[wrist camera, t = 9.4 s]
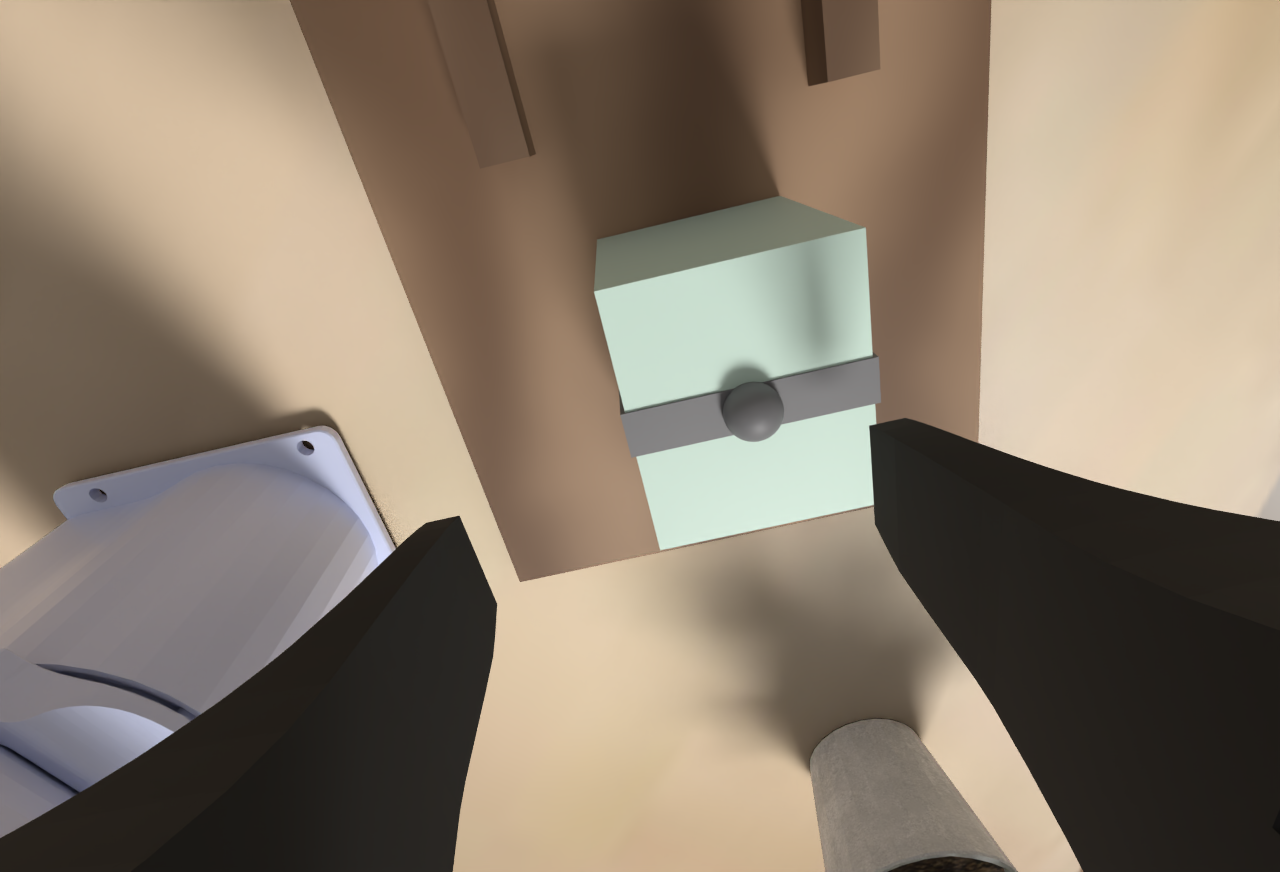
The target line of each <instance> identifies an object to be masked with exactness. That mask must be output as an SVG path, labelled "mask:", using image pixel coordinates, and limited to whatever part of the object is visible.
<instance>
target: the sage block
mask: <svg viewBox="0 0 1280 872" xmlns="http://www.w3.org/2000/svg"><path fill="white" fill-rule="evenodd" d="M594 294H595V298H596V302H597V305H598V309H599V313H600V317H601V321H602V325H603V329H604V333H605V337H606V341H607V344H608V348H609V352H610V356H611V360H612V364H613V368H614V372H615V376H616V380H617V383H618V387H619V402H620V416H621V420H622V424H623V427H624V431H625V435H626V439H627V443H628V447H629V450H630V454H631V458H633V457H636V458H637V461H638V465H639V469H640V473H641V477H642V481H643V485H644V489H645V493H646V497H647V500H648V504H649V508H650V512H651V516H652V520H653V524H654V528H655V532H656V536H657V539H658V543H659V547H660V550H664V549H669V548H674V547H678V546H683V545H688V544H693V543H697V542H702V541H707V540H711V539H716V538H721V537H725V536H730V535H735V534H740V533H744V532H749V531H754V530H758V529H763V528H768V527H772V526H777V525H782V524H787V523H791V522H796V521H801V520H805V519H810V518H815V517H819V516H824V515H829V514H834V513H838V512H843V511H848V510H852V509H857V508H862V507H866V506H871V505H874V498H873V481H872V464H871V447H870V431H869V426H870V425H874V424H876V409H875V404H877V403H881V391H880V371H879V357H878V356H877V355H876V354H875V353H873V352H872V334H871V315H870V297H869V278H868V259H867V241H866V227H863V226H860V225H858V224H855V223H852V222H849V221H847V220H844V219H841V218H839V217H836V216H833V215H831V214H828V213H825V212H823V211H820V210H817V209H815V208H812V207H809V206H806V205H804V204H801V203H798V202H796V201H793V200H790V199H788V198H785V197H782V196H777V197H772V198H768V199H764V200H760V201H756V202H752V203H747V204H743V205H739V206H735V207H731V208H727V209H722V210H718V211H714V212H710V213H706V214H702V215H697V216H693V217H689V218H685V219H681V220H677V221H672V222H668V223H664V224H660V225H656V226H652V227H647V228H643V229H639V230H635V231H631V232H627V233H622V234H618V235H614V236H610V237H606V238H602V239H597V250H596V266H595V283H594Z"/></svg>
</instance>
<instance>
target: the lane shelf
mask: <svg viewBox="0 0 1280 872" xmlns="http://www.w3.org/2000/svg"><path fill="white" fill-rule="evenodd" d="M290 2H291V5H292V7H293V10H294V12H295V15H296V17H297V20H298V22H299V25H300V27H301V30H302V32H303V35H304V37H305V40H306V42H307V45H308V47H309V50H310V53H311V55H312V58H313V60H314V63H315V65H316V68H317V70H318V73H319V75H320V78H321V80H322V83H323V85H324V88H325V90H326V93H327V95H328V98H329V101H330V103H331V106H332V108H333V111H334V113H335V116H336V118H337V121H338V123H339V126H340V128H341V131H342V133H343V136H344V138H345V141H346V143H347V146H348V149H349V151H350V154H351V156H352V159H353V161H354V164H355V166H356V169H357V171H358V174H359V176H360V179H361V181H362V184H363V186H364V189H365V191H366V194H367V197H368V199H369V202H370V204H371V207H372V209H373V212H374V214H375V217H376V219H377V222H378V224H379V227H380V229H381V232H382V234H383V237H384V239H385V242H386V245H387V247H388V250H389V252H390V255H391V257H392V260H393V262H394V265H395V267H396V270H397V272H398V275H399V277H400V280H401V282H402V285H403V287H404V290H405V293H406V295H407V298H408V300H409V303H410V305H411V308H412V310H413V313H414V315H415V318H416V320H417V323H418V325H419V328H420V330H421V333H422V335H423V338H424V341H425V343H426V346H427V348H428V351H429V353H430V356H431V358H432V361H433V363H434V366H435V368H436V371H437V373H438V376H439V378H440V381H441V383H442V386H443V389H444V391H445V394H446V396H447V399H448V401H449V404H450V406H451V409H452V411H453V414H454V416H455V419H456V421H457V424H458V426H459V429H460V431H461V434H462V437H463V439H464V442H465V444H466V447H467V449H468V452H469V454H470V457H471V459H472V462H473V464H474V467H475V469H476V472H477V474H478V477H479V479H480V482H481V485H482V487H483V490H484V492H485V495H486V497H487V500H488V502H489V505H490V507H491V510H492V512H493V515H494V517H495V520H496V522H497V525H498V528H499V530H500V533H501V535H502V538H503V540H504V543H505V545H506V548H507V550H508V553H509V555H510V558H511V560H512V563H513V565H514V568H515V570H516V573H517V576H518V578H519V581H520V582H522V581H527V580H532V579H537V578H541V577H546V576H551V575H555V574H560V573H565V572H569V571H574V570H579V569H583V568H588V567H593V566H598V565H602V564H607V563H612V562H616V561H621V560H626V559H630V558H635V557H640V556H645V555H649V554H654V553H659V552H663V551H668V550H673V549H677V548H682V547H687V546H691V545H696V544H701V543H706V542H710V541H715V540H720V539H724V538H729V537H734V536H738V535H743V534H748V533H753V532H757V531H762V530H767V529H771V528H776V527H781V526H785V525H790V524H795V523H800V522H804V521H809V520H814V519H818V518H823V517H828V516H832V515H837V514H842V513H846V512H851V511H856V510H861V509H865V508H870V507H874V505H871V506H866V507H862V508H857V509H852V510H848V511H843V512H838V513H834V514H829V515H824V516H819V517H815V518H810V519H805V520H801V521H796V522H791V523H787V524H782V525H777V526H772V527H768V528H763V529H758V530H754V531H749V532H744V533H740V534H735V535H730V536H725V537H721V538H716V539H711V540H707V541H702V542H697V543H693V544H688V545H683V546H678V547H674V548H669V549H664V550H660V547H659V543H658V539H657V536H656V532H655V528H654V524H653V520H652V516H651V512H650V508H649V504H648V500H647V497H646V493H645V489H644V485H643V481H642V477H641V473H640V469H639V465H638V461H637V458H636V457H633V458H631V454H630V450H629V447H628V443H627V439H626V435H625V431H624V427H623V424H622V420H621V416H620V402H619V387H618V383H617V380H616V376H615V372H614V368H613V364H612V360H611V356H610V352H609V348H608V344H607V341H606V337H605V333H604V329H603V325H602V321H601V317H600V313H599V309H598V305H597V302H596V298H595V294H594V283H595V266H596V250H597V239H602V238H606V237H610V236H614V235H618V234H622V233H627V232H631V231H635V230H639V229H643V228H647V227H652V226H656V225H660V224H664V223H668V222H672V221H677V220H681V219H685V218H689V217H693V216H697V215H702V214H706V213H710V212H714V211H718V210H722V209H727V208H731V207H735V206H739V205H743V204H747V203H752V202H756V201H760V200H764V199H768V198H772V197H777V196H782V197H785V198H788V199H790V200H793V201H796V202H798V203H801V204H804V205H806V206H809V207H812V208H815V209H817V210H820V211H823V212H825V213H828V214H831V215H833V216H836V217H839V218H841V219H844V220H847V221H849V222H852V223H855V224H858V225H860V226H863V227H866V241H867V259H868V278H869V297H870V315H871V334H872V352H873V353H875V354H876V355H877V356H878V357H879V371H880V391H881V403H877V404H875V409H876V424H879V423H884V422H888V421H893V420H897V419H902V418H908V419H912V420H916V421H919V422H922V423H925V424H928V425H931V426H934V427H936V428H939V429H942V430H945V431H947V432H950V433H953V434H955V435H958V436H961V437H963V438H966V439H969V440H971V441H974V442H977V443H978V432H979V399H980V365H981V331H982V297H983V263H984V230H985V196H986V162H987V128H988V95H989V61H990V27H991V0H290Z"/></svg>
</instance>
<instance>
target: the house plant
mask: <svg viewBox="0 0 1280 872" xmlns="http://www.w3.org/2000/svg"><path fill="white" fill-rule="evenodd" d="M810 773H811V779H812V786H813V793H814V799H815V806H816V812H817V819H818V826H819V832H820V839H821V846H822V852H823V859H824V866H825V872H1018V871H1017V870H1016V869H1015V867H1014V866H1013V865H1012V863H1011V862H1010V860H1009V859H1008V858H1007V856H1006V855H1005V854H1004V852H1003V851H1002V850H1001V848H1000V847H999V846H998V844H997V843H996V841H995V840H994V839H993V837H992V836H991V835H990V833H989V832H988V831H987V829H986V828H985V827H984V825H983V824H982V822H981V821H980V820H979V818H978V817H977V816H976V814H975V813H974V812H973V810H972V809H971V808H970V806H969V805H968V803H967V802H966V801H965V799H964V798H963V797H962V795H961V794H960V793H959V791H958V790H957V789H956V787H955V786H954V784H953V783H952V782H951V780H950V779H949V778H948V776H947V775H946V774H945V772H944V771H943V770H942V768H941V767H940V765H939V764H938V763H937V761H936V760H935V759H934V757H933V756H932V755H931V753H930V752H929V751H928V749H927V748H926V746H925V745H924V744H923V742H922V741H921V740H920V738H919V737H918V736H917V734H916V733H915V732H914V731H913V729H911V728H910V727H908V726H906V725H905V724H903V723H900V722H897V721H893V720H888V719H869V720H861V721H857V722H854V723H851V724H847V725H845V726H843V727H841V728H839V729H837V730H835V731H833V732H832V733H830V734H829V735H828V736H826V737H825V738H824V739H822V741H821V742H820V743H819V744H818V745H817V747H816V748H815V749H814V751H813V754H812V756H811V758H810Z"/></svg>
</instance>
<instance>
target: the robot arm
mask: <svg viewBox="0 0 1280 872" xmlns="http://www.w3.org/2000/svg"><path fill="white" fill-rule="evenodd" d="M869 431H870V447H871V464H872V481H873V498H874V514H875V525H876V527H877V529H878V531H879V533H880V535H881V537H882V539H883V541H884V543H885V545H886V547H887V549H888V551H889V553H890V555H891V557H892V558H893V560H894V562H895V564H896V566H897V568H898V570H899V571H900V573H901V574H902V576H903V577H904V579H905V580H906V582H907V583H908V585H909V586H910V588H911V589H912V590H913V592H914V593H915V595H916V596H917V598H918V599H919V600H920V602H921V603H922V605H923V606H924V608H925V609H926V610H927V612H928V613H929V615H930V616H931V617H932V619H933V620H934V622H935V623H936V624H937V626H938V627H939V629H940V630H941V632H942V633H943V634H944V636H945V637H946V639H947V640H948V641H949V643H950V644H951V646H952V647H953V648H954V650H955V651H956V653H957V654H958V655H959V657H960V658H961V660H962V661H963V662H964V664H965V665H966V667H967V668H968V669H969V671H970V672H971V674H972V675H973V676H974V678H975V679H976V681H977V682H978V684H979V685H980V687H981V688H982V690H983V692H984V693H985V695H986V696H987V698H988V699H989V701H990V702H991V704H992V705H993V707H994V709H995V710H996V712H997V714H998V716H999V717H1000V719H1001V721H1002V723H1003V724H1004V726H1005V728H1006V730H1007V731H1008V733H1009V735H1010V737H1011V739H1012V740H1013V742H1014V744H1015V746H1016V747H1017V749H1018V751H1019V753H1020V754H1021V756H1022V758H1023V760H1024V761H1025V763H1026V765H1027V767H1028V768H1029V770H1030V772H1031V774H1032V776H1033V778H1034V779H1035V781H1036V783H1037V785H1038V787H1039V789H1040V791H1041V792H1042V794H1043V796H1044V798H1045V800H1046V802H1047V803H1048V805H1049V807H1050V809H1051V811H1052V813H1053V815H1054V816H1055V818H1056V820H1057V822H1058V824H1059V826H1060V827H1061V829H1062V831H1063V833H1064V835H1065V837H1066V839H1067V841H1068V842H1069V844H1070V846H1071V848H1072V850H1073V852H1074V854H1075V856H1076V858H1077V860H1078V862H1079V864H1080V866H1081V868H1082V870H1083V872H1280V521H1274V520H1268V519H1262V518H1257V517H1251V516H1246V515H1240V514H1234V513H1229V512H1223V511H1217V510H1212V509H1207V508H1202V507H1197V506H1192V505H1188V504H1183V503H1178V502H1174V501H1169V500H1165V499H1161V498H1157V497H1153V496H1149V495H1144V494H1140V493H1136V492H1132V491H1128V490H1124V489H1119V488H1116V487H1112V486H1108V485H1105V484H1101V483H1097V482H1094V481H1090V480H1087V479H1084V478H1080V477H1077V476H1074V475H1071V474H1067V473H1064V472H1061V471H1058V470H1054V469H1051V468H1048V467H1045V466H1042V465H1039V464H1036V463H1033V462H1030V461H1027V460H1024V459H1021V458H1018V457H1015V456H1013V455H1010V454H1007V453H1004V452H1001V451H999V450H996V449H993V448H990V447H988V446H985V445H982V444H979V443H977V442H974V441H971V440H969V439H966V438H963V437H961V436H958V435H955V434H953V433H950V432H947V431H945V430H942V429H939V428H936V427H934V426H931V425H928V424H925V423H922V422H919V421H916V420H912V419H908V418H902V419H897V420H893V421H888V422H884V423H879V424H874V425H870V426H869ZM302 441H308V442H310V443H311V444H312V445H313V446H314V450H310V449H308V448H306V447H305V446H304V445H303V443H302ZM99 489H100V490H103V491H104V492H105V493H106V495H104V494H102V493H101V492H100V491H99ZM53 500H54V502H55V504H56V506H57V507H58V508H59V509H60V511H61V512H62V513H63V515H64V516H65V517H66V518H67V521H65V522H64V523H62V524H61V525H60V526H58V527H57V528H56V529H54V530H53V531H51V532H50V533H49V534H47V535H46V536H44V537H43V538H42V539H40V540H39V541H38V542H36V543H35V544H33V545H32V546H31V547H29V548H28V549H27V550H25V551H24V552H22V553H21V554H20V555H18V556H17V557H16V558H14V559H13V560H11V561H10V562H9V563H7V564H6V565H5V566H3V567H2V568H0V872H453V864H454V856H455V847H456V839H457V831H458V823H459V814H460V808H461V802H462V797H463V791H464V786H465V781H466V776H467V772H468V767H469V763H470V758H471V754H472V750H473V745H474V741H475V736H476V732H477V727H478V723H479V719H480V714H481V710H482V705H483V701H484V696H485V692H486V687H487V682H488V678H489V673H490V669H491V664H492V659H493V651H494V640H495V628H496V612H497V603H496V600H495V598H494V596H493V593H492V591H491V589H490V586H489V584H488V582H487V579H486V577H485V575H484V572H483V570H482V568H481V565H480V563H479V561H478V558H477V556H476V554H475V551H474V549H473V547H472V544H471V542H470V539H469V537H468V535H467V532H466V530H465V528H464V525H463V523H462V521H461V518H460V516H456V517H451V518H447V519H442V520H437V521H433V522H428V523H425V524H424V525H423V526H422V527H420V528H419V529H418V530H416V531H415V532H414V533H413V534H412V535H411V536H409V537H408V538H407V539H406V540H405V541H404V542H403V543H402V544H401V545H400V546H399V547H397V548H395V546H394V544H393V542H392V540H391V538H390V536H389V534H388V532H387V530H386V528H385V526H384V524H383V522H382V520H381V518H380V516H379V514H378V512H377V510H376V508H375V506H374V504H373V502H372V500H371V498H370V496H369V494H368V492H367V490H366V488H365V486H364V484H363V482H362V480H361V478H360V476H359V474H358V472H357V470H356V468H355V466H354V464H353V462H352V460H351V458H350V456H349V454H348V451H347V449H346V447H345V445H344V443H343V441H342V439H341V437H340V436H339V434H338V433H337V432H336V431H335V430H334V429H332V428H331V427H327V426H315V427H311V428H307V429H302V430H298V431H294V432H289V433H285V434H281V435H276V436H272V437H268V438H263V439H259V440H255V441H250V442H246V443H242V444H237V445H233V446H228V447H224V448H220V449H215V450H211V451H207V452H202V453H198V454H194V455H189V456H185V457H181V458H176V459H172V460H168V461H163V462H159V463H155V464H150V465H146V466H142V467H137V468H133V469H129V470H124V471H120V472H115V473H111V474H107V475H102V476H98V477H94V478H89V479H85V480H81V481H76V482H72V483H68V484H66V485H64V486H62V487H60V488H59V489H57V490H56V491H55V492H54V494H53Z"/></svg>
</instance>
